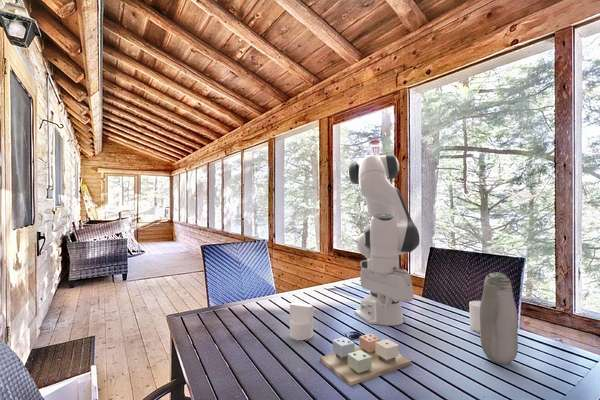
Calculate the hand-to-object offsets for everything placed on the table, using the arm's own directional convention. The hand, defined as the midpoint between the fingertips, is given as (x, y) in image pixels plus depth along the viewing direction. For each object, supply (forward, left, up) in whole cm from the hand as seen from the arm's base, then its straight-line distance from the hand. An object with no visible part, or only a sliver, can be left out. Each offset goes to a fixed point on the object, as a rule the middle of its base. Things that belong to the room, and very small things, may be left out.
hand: (385, 308), depth 98 cm
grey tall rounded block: (+16, +33, -18) cm, 40 cm away
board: (-4, -5, -17) cm, 19 cm away
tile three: (-8, -11, -14) cm, 20 cm away
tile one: (0, 0, -14) cm, 14 cm away
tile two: (0, -11, -15) cm, 19 cm away
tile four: (-8, 0, -16) cm, 17 cm away
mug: (0, +51, -18) cm, 54 cm away
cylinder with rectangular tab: (-32, -13, -18) cm, 39 cm away
